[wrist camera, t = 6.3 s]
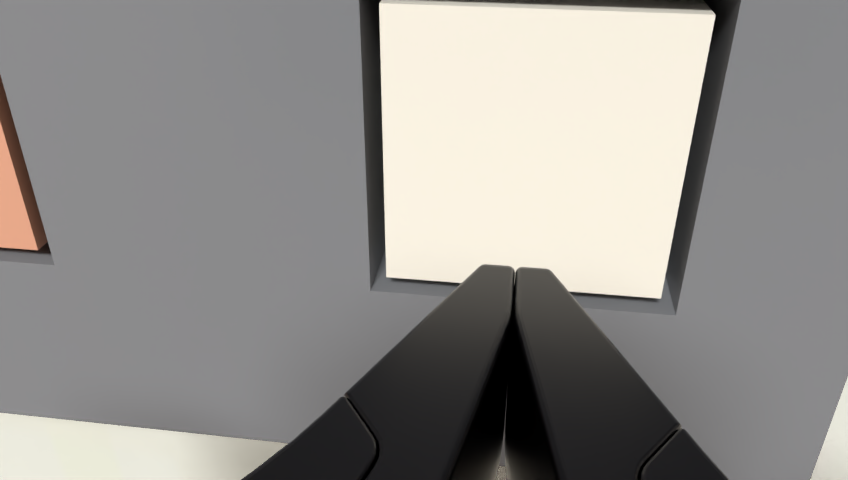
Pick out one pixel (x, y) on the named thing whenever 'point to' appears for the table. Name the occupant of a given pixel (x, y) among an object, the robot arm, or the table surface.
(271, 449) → the table surface
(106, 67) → the key console
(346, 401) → the robot arm
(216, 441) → the table surface
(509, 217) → the ivory key
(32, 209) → the terracotta key
